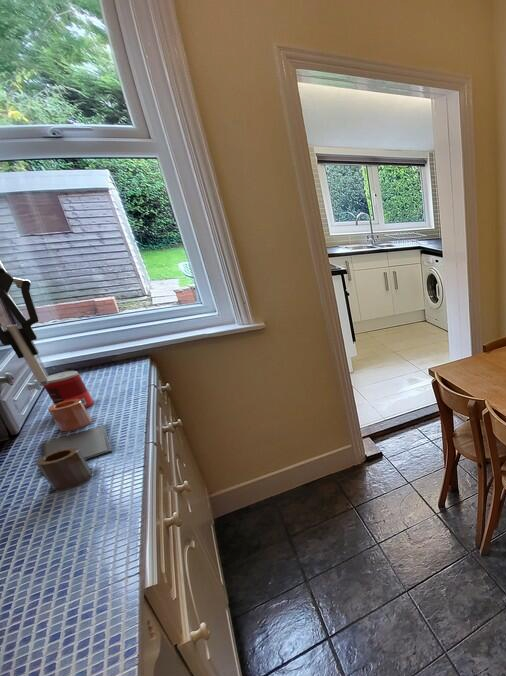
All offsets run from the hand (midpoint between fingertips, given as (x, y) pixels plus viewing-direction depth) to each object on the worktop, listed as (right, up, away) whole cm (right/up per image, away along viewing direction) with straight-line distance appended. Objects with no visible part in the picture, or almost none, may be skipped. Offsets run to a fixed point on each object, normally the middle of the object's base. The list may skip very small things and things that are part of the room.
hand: (28, 355), depth 98 cm
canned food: (-17, -15, +27) cm, 35 cm away
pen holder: (-6, -19, +16) cm, 25 cm away
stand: (+20, -29, -8) cm, 36 cm away
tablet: (+7, -23, +4) cm, 25 cm away
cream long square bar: (+1, -7, +2) cm, 8 cm away
